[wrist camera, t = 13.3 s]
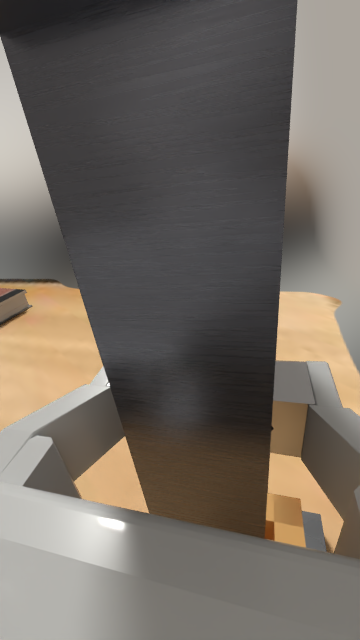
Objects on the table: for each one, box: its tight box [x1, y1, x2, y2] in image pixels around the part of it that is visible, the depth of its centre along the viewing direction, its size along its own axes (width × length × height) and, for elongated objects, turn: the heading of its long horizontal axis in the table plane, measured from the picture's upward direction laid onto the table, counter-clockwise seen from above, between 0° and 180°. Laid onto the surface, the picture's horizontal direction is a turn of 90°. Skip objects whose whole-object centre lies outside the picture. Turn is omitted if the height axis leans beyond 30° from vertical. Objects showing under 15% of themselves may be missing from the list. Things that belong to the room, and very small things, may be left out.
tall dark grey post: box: [0, 0, 297, 539], centre depth 8 cm, size 5×3×18 cm, turn 166°
